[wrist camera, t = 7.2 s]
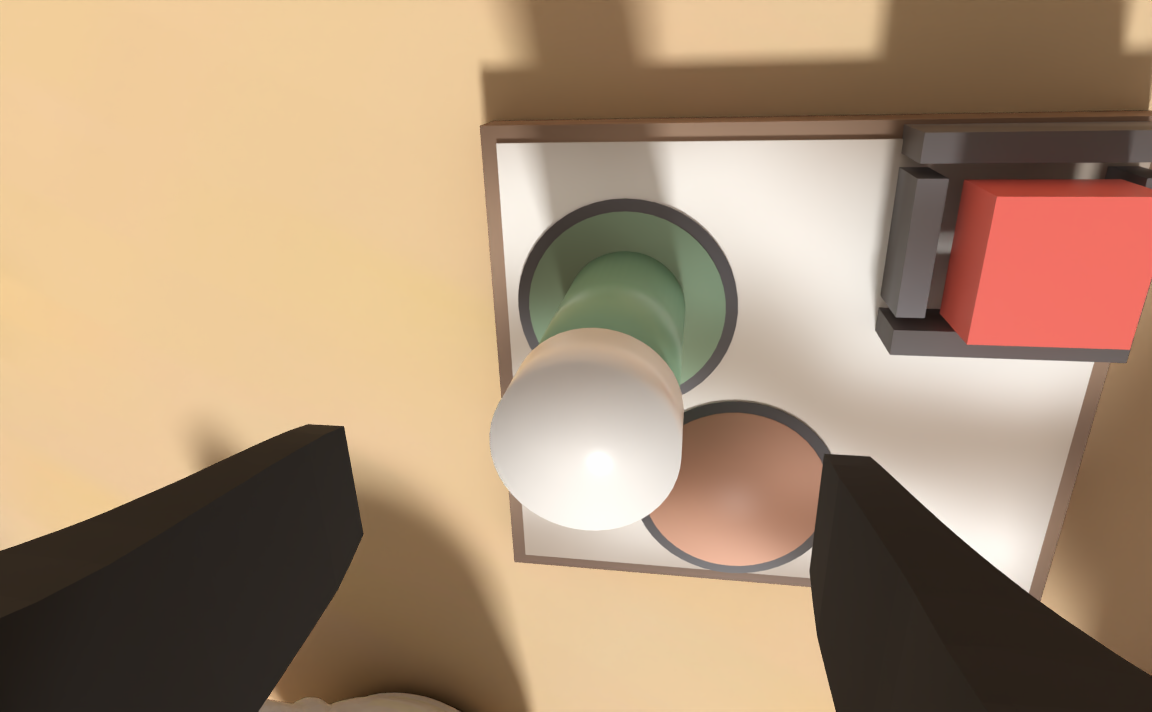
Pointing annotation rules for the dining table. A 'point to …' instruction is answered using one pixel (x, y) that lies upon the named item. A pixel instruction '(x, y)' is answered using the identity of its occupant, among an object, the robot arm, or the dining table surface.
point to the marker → (599, 400)
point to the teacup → (362, 704)
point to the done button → (1049, 263)
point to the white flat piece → (807, 321)
